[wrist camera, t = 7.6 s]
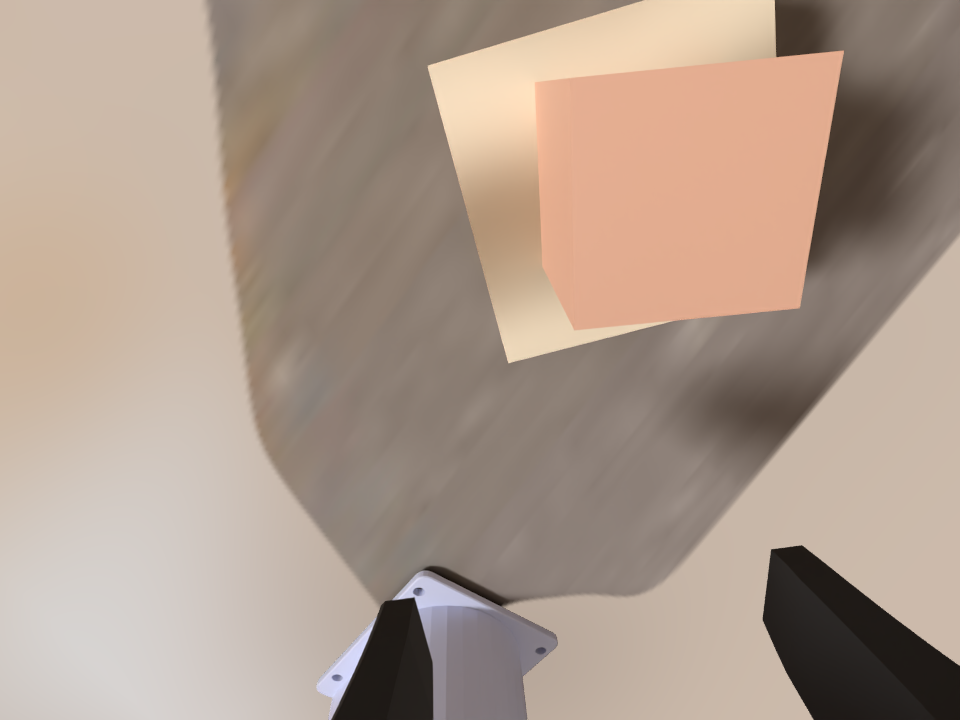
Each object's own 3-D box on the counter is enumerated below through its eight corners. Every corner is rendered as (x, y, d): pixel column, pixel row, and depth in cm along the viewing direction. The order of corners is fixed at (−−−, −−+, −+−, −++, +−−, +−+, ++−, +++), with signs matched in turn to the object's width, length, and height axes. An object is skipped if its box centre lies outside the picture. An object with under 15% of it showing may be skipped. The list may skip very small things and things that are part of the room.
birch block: (721, 255, 19) (782, 292, 16) (498, 314, 20) (508, 363, 16) (701, -9, 16) (773, -39, 12) (433, 71, 17) (427, 65, 13)
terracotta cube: (707, 250, 15) (799, 307, 11) (542, 266, 15) (574, 330, 11) (724, 63, 13) (844, 50, 9) (534, 82, 13) (570, 78, 9)
